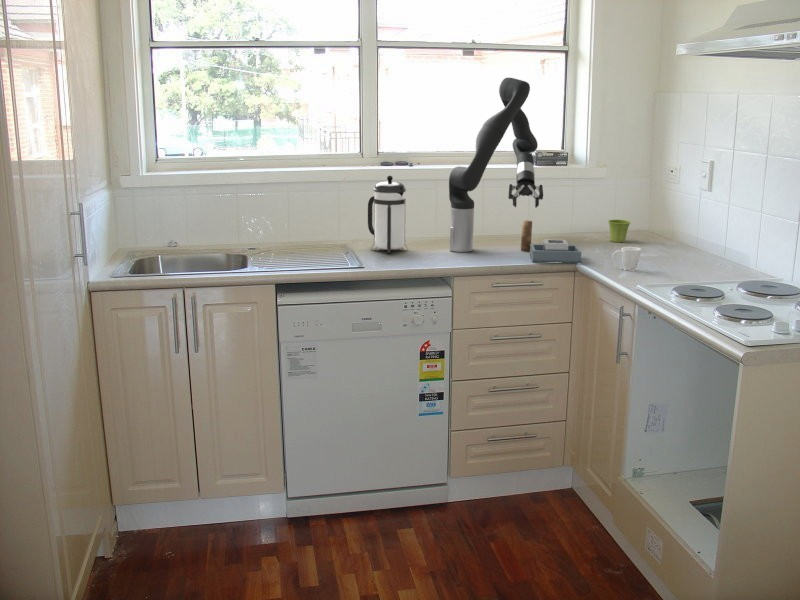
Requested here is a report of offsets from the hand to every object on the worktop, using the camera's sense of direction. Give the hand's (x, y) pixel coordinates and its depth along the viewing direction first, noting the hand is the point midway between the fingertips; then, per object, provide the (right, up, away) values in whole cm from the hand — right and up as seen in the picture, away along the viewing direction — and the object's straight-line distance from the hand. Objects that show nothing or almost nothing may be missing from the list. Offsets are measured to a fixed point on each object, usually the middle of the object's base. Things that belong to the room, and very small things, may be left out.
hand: (525, 206), depth 328 cm
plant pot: (+42, -14, +14) cm, 46 cm away
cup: (+30, -28, -38) cm, 56 cm away
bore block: (+7, -23, -23) cm, 33 cm away
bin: (+7, -23, -23) cm, 33 cm away
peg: (-1, -19, -7) cm, 20 cm away
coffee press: (-57, -19, -8) cm, 61 cm away
